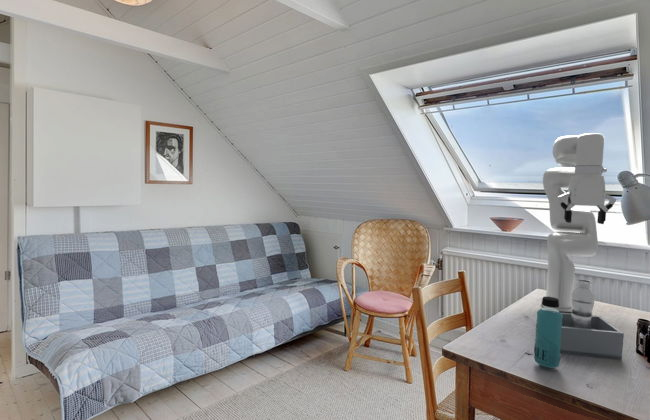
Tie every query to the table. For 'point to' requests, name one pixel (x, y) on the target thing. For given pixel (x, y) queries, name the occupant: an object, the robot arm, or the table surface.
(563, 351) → the bin
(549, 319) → the beverage bottle
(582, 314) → the silver aluminium bottle
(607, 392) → the table surface
